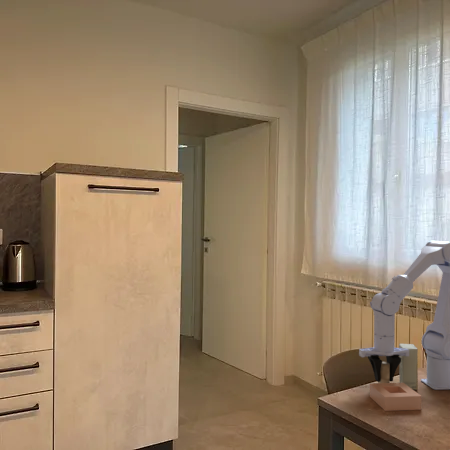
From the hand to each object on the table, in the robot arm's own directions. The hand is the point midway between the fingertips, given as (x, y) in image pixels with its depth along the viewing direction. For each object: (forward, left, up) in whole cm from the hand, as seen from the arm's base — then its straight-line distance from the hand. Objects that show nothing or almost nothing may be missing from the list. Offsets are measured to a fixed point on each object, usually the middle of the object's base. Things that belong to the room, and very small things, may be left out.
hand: (383, 380), depth 132 cm
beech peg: (0, 0, -3) cm, 3 cm away
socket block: (+1, +9, -3) cm, 10 cm away
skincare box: (-9, -3, -3) cm, 10 cm away
